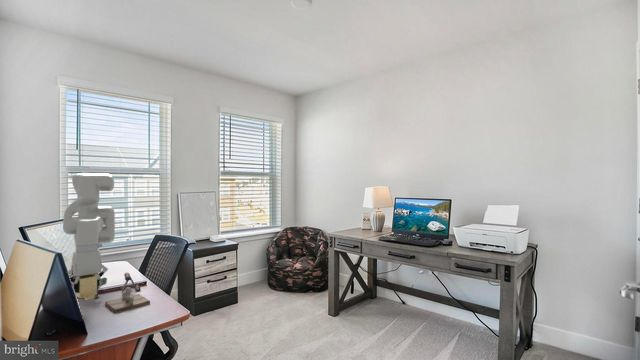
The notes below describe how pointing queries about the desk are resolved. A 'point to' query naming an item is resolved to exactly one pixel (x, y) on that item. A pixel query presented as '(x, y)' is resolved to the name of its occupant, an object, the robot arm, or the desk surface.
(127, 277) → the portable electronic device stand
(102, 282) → the mechanical component
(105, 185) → the robot arm
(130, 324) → the desk surface
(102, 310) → the desk surface
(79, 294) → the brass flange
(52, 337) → the desk surface
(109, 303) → the post dock
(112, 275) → the desk surface
